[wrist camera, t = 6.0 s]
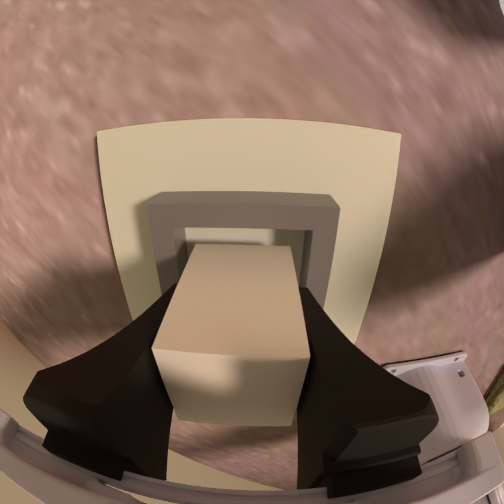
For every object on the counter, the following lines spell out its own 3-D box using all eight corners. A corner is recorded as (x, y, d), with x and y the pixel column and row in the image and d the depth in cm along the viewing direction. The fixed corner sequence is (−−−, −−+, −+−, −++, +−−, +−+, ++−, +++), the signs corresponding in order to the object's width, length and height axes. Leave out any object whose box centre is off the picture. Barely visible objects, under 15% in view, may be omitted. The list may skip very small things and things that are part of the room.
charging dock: (393, 132, 11) (420, 138, 9) (347, 349, 18) (355, 378, 15) (104, 130, 11) (75, 136, 9) (146, 342, 18) (134, 369, 16)
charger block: (290, 246, 12) (310, 356, 6) (283, 318, 14) (291, 426, 8) (195, 243, 12) (151, 348, 7) (203, 315, 14) (178, 419, 8)
